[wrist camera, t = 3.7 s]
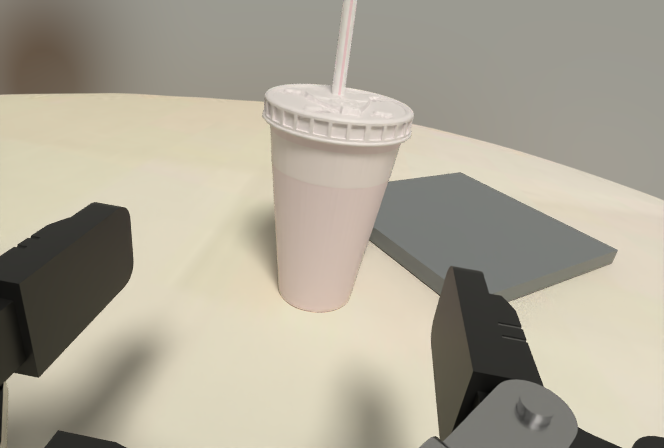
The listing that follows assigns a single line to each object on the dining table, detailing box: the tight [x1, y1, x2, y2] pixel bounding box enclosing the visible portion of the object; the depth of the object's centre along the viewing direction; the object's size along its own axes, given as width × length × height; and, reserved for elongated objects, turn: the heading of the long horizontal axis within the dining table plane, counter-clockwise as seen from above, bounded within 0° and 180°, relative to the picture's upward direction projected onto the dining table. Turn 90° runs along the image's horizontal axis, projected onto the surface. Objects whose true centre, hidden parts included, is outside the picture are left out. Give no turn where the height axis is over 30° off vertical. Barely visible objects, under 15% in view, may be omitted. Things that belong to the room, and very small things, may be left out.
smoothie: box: [262, 0, 414, 312], centre depth 21 cm, size 6×6×14 cm
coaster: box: [369, 172, 618, 302], centre depth 32 cm, size 14×14×1 cm
